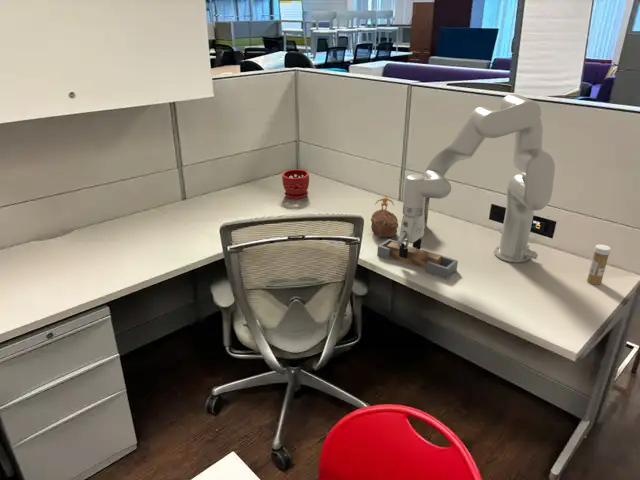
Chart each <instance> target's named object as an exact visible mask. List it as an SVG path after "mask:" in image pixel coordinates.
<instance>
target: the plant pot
mask: <svg viewBox="0 0 640 480" xmlns="http://www.w3.org/2000/svg"><path fill="white" fill-rule="evenodd" d="M281 177H282V186H283V189H284V191H285V192H284V196H285V197H286V198H288V199H292V200H300V199H304V198H306V197H307V196H308V194H309V191H308V189H309V185H310V173H309V172H308V171H307V170H304V169H290V170H286V171H283V173H282V174H281Z"/></svg>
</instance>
